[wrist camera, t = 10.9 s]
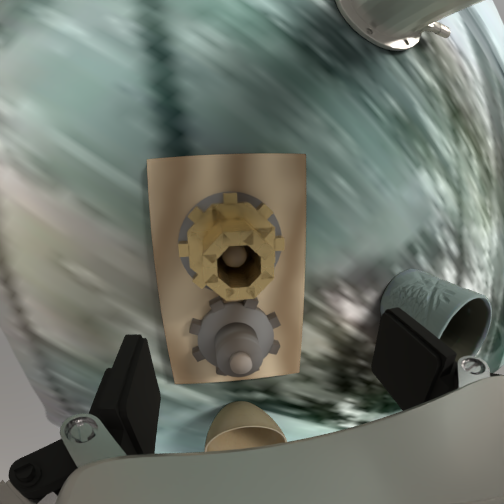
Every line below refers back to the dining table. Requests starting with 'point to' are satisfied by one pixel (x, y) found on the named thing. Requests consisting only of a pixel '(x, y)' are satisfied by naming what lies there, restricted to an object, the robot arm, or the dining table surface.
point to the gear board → (193, 299)
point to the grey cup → (441, 309)
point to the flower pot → (242, 428)
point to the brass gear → (232, 234)
